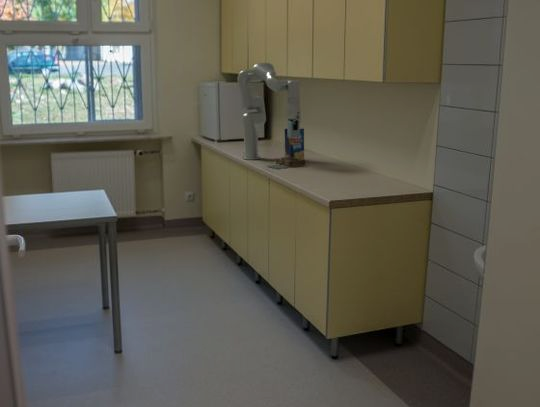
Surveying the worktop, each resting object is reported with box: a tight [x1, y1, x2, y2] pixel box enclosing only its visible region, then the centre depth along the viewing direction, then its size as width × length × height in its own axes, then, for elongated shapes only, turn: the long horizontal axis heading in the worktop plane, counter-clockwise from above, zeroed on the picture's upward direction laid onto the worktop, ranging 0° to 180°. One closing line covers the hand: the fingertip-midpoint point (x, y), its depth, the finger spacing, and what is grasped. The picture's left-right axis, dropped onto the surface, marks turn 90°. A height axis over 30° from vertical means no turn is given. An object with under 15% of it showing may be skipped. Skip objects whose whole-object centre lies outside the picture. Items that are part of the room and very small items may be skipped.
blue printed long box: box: [284, 127, 305, 160], centre depth 399 cm, size 7×11×22 cm, turn 123°
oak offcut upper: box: [280, 156, 291, 161], centre depth 391 cm, size 4×6×2 cm
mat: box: [266, 164, 290, 170], centre depth 380 cm, size 12×8×1 cm
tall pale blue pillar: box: [286, 120, 301, 138], centre depth 379 cm, size 4×7×10 cm, turn 123°
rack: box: [275, 157, 306, 168], centre depth 387 cm, size 16×11×4 cm
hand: (293, 129), depth 379 cm, fingers closed on tall pale blue pillar, 3 cm apart
